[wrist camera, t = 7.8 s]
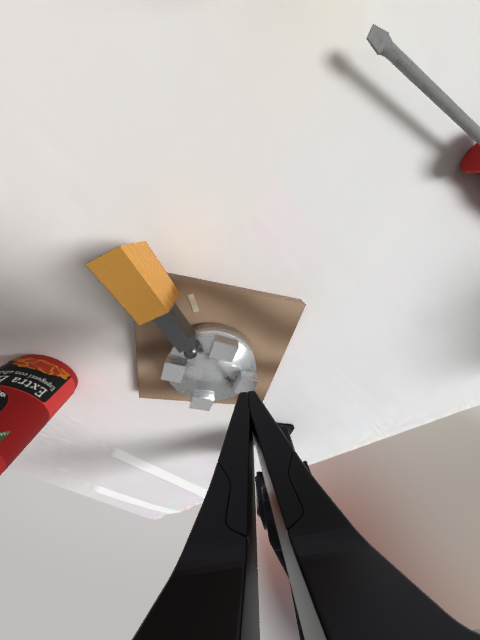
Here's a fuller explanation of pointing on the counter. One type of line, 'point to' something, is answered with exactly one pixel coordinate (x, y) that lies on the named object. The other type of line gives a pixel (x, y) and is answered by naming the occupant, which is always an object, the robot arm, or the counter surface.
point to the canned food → (30, 400)
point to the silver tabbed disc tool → (178, 328)
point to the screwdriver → (429, 92)
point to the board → (223, 308)
